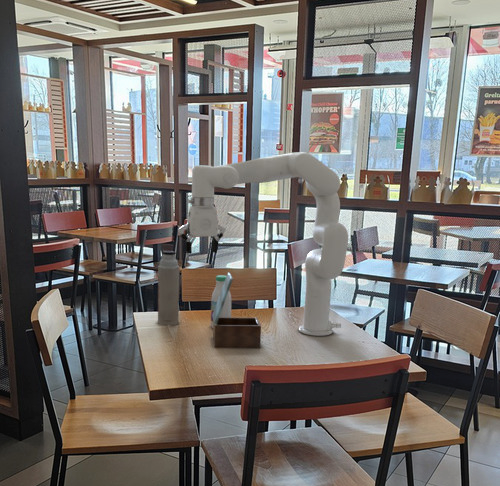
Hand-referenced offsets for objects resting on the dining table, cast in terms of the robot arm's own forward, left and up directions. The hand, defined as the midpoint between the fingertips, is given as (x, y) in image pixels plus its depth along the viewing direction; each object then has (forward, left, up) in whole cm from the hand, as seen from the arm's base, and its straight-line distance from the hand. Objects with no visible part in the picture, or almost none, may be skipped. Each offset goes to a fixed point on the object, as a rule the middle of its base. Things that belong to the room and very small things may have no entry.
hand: (201, 252), depth 199 cm
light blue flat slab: (-8, +6, -15) cm, 18 cm away
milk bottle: (-8, -14, -31) cm, 35 cm away
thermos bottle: (+12, -20, -31) cm, 38 cm away
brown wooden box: (-12, +6, -31) cm, 34 cm away
